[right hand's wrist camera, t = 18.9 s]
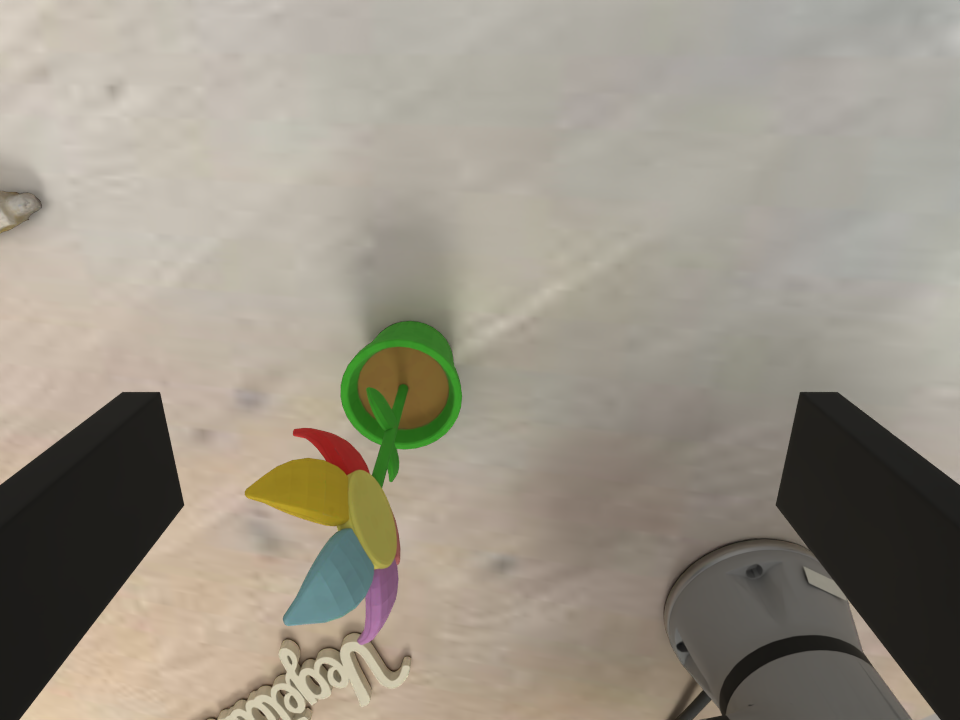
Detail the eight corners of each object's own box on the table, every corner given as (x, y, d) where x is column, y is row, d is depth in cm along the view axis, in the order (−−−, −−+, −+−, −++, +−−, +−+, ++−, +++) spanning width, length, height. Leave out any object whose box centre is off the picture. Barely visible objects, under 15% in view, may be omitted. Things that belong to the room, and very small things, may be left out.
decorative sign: (347, 608, 53) (419, 676, 56) (349, 600, 53) (420, 667, 56) (142, 734, 58) (217, 789, 61) (147, 725, 59) (220, 780, 62)
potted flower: (337, 326, 44) (178, 556, 21) (435, 286, 43) (383, 481, 20) (393, 431, 47) (309, 732, 24) (486, 397, 46) (492, 677, 23)
